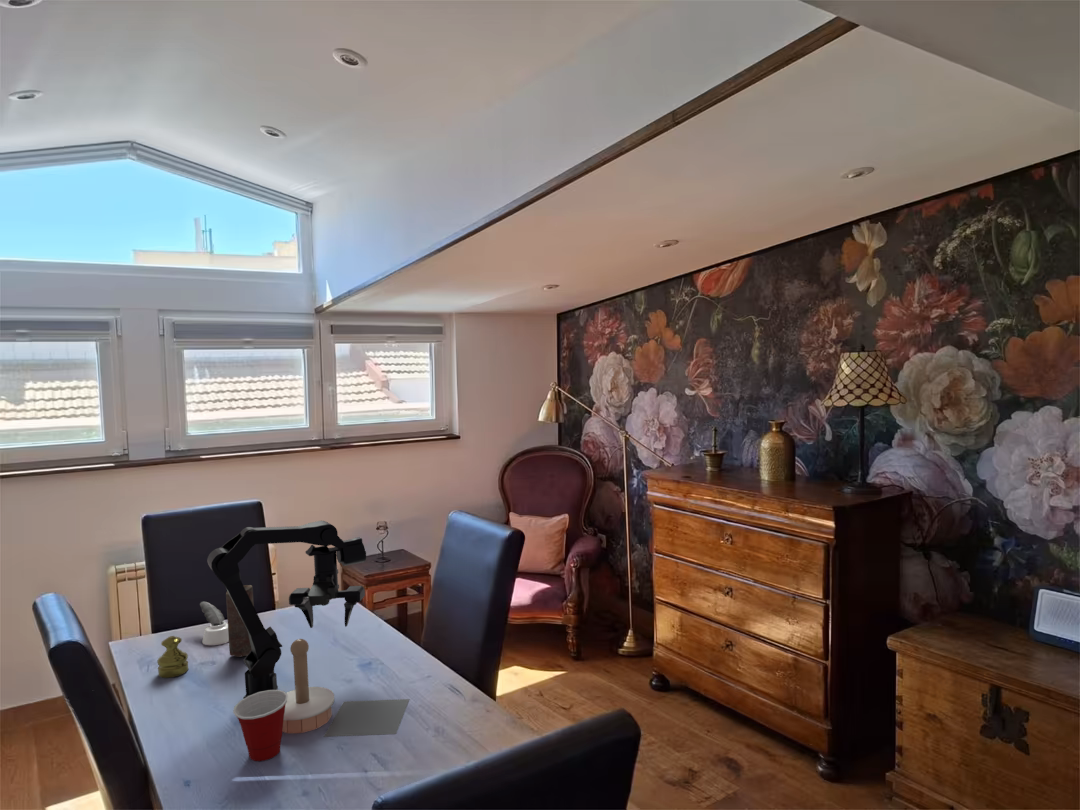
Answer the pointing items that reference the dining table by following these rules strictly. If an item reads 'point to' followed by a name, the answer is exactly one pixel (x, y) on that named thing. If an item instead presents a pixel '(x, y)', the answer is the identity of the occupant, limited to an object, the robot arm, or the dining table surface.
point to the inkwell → (214, 626)
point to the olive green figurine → (172, 659)
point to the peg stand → (305, 688)
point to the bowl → (307, 723)
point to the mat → (368, 718)
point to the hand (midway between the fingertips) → (329, 626)
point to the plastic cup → (262, 722)
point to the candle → (238, 627)
